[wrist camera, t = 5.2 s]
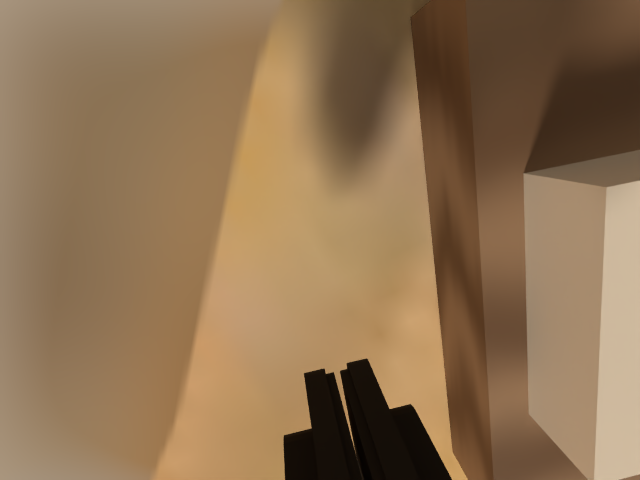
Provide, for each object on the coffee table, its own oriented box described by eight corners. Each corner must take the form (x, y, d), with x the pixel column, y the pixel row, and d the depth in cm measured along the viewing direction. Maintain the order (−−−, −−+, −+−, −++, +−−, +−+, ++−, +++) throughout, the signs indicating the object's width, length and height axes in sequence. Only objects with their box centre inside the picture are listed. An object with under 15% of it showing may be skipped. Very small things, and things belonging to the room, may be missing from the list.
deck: (410, 17, 14) (463, -27, 10) (765, -45, 14) (942, -108, 11) (452, 452, 19) (496, 530, 16) (704, 390, 20) (803, 450, 16)
